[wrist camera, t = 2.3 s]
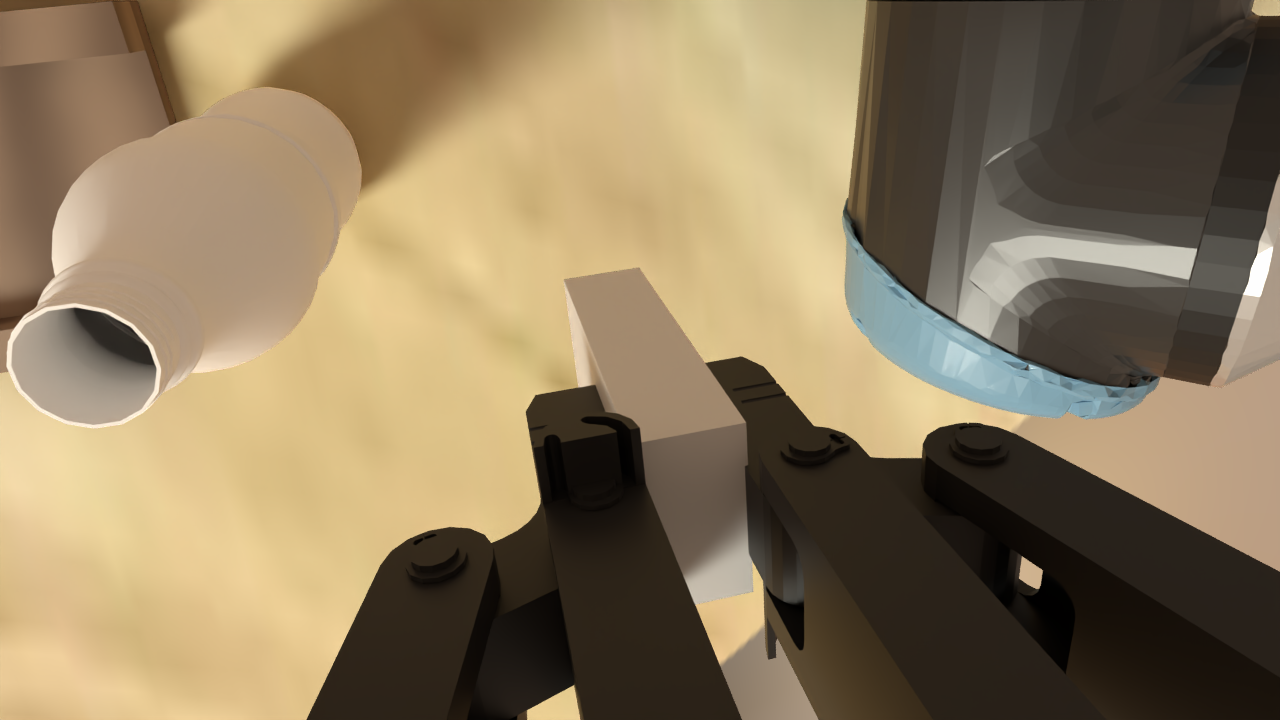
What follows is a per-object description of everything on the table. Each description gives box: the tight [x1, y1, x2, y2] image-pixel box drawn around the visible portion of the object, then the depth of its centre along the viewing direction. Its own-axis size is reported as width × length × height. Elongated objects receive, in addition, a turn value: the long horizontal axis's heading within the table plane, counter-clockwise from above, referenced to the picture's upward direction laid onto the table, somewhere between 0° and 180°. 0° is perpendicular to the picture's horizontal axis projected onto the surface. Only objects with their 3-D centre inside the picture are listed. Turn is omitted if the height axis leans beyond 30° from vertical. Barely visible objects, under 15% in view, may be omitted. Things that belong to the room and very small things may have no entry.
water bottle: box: [6, 87, 362, 428], centre depth 29 cm, size 7×7×25 cm
